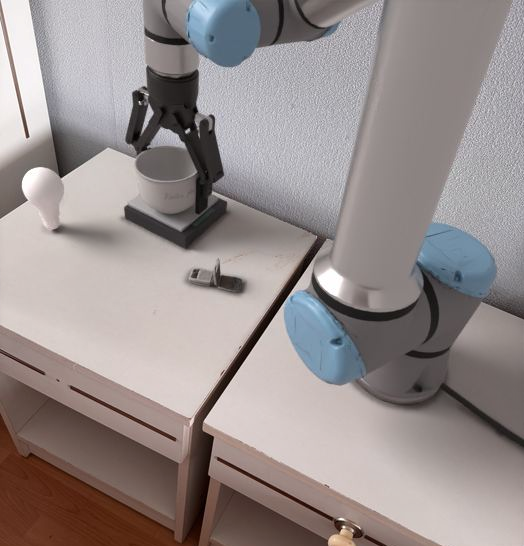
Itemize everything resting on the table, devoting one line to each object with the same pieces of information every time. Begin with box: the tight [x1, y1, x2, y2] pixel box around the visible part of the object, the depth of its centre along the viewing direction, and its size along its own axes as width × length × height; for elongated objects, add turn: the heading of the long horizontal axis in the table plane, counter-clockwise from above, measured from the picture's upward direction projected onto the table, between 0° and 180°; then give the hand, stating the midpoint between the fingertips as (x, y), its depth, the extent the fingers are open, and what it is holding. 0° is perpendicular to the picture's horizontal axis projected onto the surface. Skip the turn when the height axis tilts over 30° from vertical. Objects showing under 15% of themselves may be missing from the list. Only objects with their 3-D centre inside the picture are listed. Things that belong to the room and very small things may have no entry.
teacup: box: [133, 145, 199, 214], centre depth 87 cm, size 14×11×8 cm
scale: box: [123, 193, 228, 250], centre depth 92 cm, size 13×13×3 cm
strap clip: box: [188, 257, 243, 293], centre depth 82 cm, size 8×3×4 cm, turn 81°
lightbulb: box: [21, 166, 65, 230], centre depth 83 cm, size 6×6×11 cm
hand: (174, 197), depth 90 cm, fingers closed on teacup, 11 cm apart
